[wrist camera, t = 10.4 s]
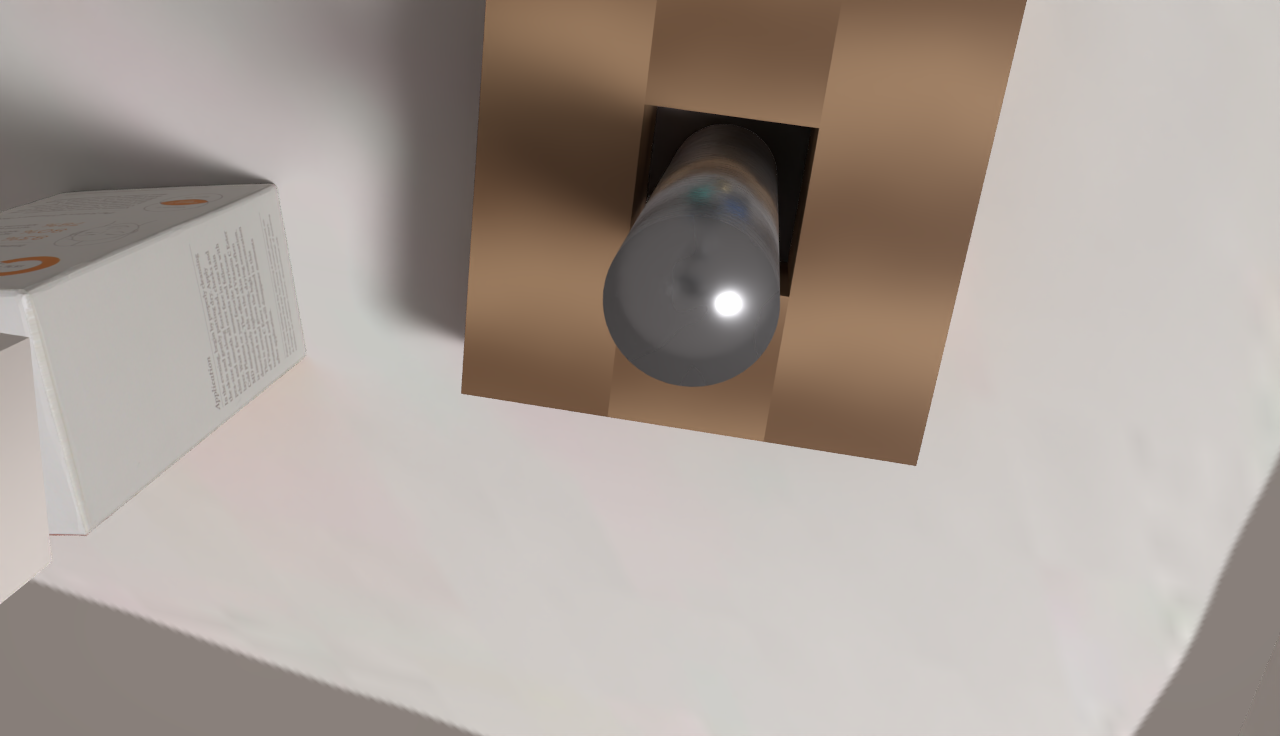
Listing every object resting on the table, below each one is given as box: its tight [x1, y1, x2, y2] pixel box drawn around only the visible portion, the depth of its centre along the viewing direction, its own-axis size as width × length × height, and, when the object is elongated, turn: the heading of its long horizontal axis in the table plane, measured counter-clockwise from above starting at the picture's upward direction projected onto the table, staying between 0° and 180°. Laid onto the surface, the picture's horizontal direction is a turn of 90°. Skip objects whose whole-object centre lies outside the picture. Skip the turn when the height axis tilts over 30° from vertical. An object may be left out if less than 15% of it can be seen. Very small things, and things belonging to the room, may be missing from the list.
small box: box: [0, 184, 306, 536], centre depth 30 cm, size 8×6×13 cm
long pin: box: [603, 124, 780, 387], centre depth 26 cm, size 3×3×14 cm
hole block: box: [461, 0, 1027, 466], centre depth 31 cm, size 14×14×4 cm
